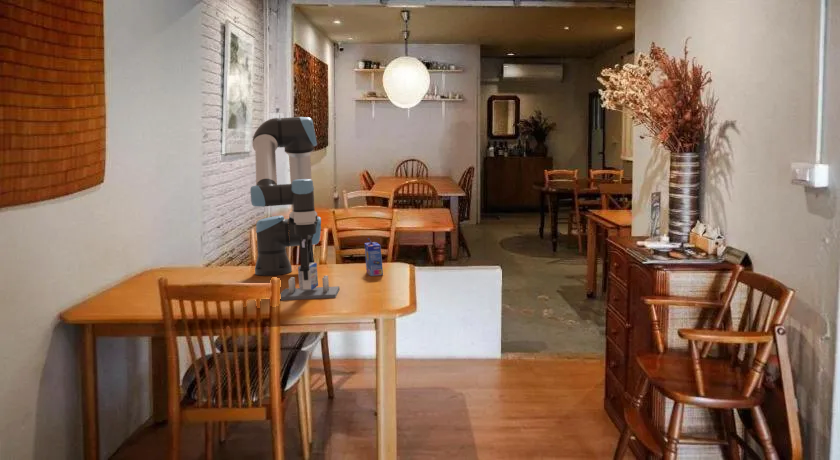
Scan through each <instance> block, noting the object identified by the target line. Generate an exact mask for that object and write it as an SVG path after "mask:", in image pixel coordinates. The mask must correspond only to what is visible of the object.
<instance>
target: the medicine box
mask: <svg viewBox="0 0 840 460" xmlns="http://www.w3.org/2000/svg"><path fill="white" fill-rule="evenodd" d="M304 267H306V266H304ZM299 269H301V265H299V266H297V274H298V287H299V288H300V290H313V289H314V288H315V287H319V280H318V276H319V275H318V263H317V262H314V263H309V270H310V280H311V289H303V281H302V271H300V270H299Z"/></svg>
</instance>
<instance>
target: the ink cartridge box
mask: <svg viewBox="0 0 840 460" xmlns="http://www.w3.org/2000/svg"><path fill="white" fill-rule="evenodd" d="M367 240H368V241H369V242H364V245H363V246H364V254H365V257H364V258H365V267H366V268H365V269H366V273H367V275H368V276H370V277H375V276H376V277H377V276H383V275H384V269H383V258H382V246H381V244H379V243H378V242H376V241H373V242H372V240H371V239H370V238H367Z"/></svg>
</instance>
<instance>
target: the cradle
mask: <svg viewBox="0 0 840 460" xmlns="http://www.w3.org/2000/svg"><path fill="white" fill-rule="evenodd" d="M295 280H296V277H293V276H291V277H290V278H288V281H287V282H288V288H284V289H283V290H282V291H281V292H280V294H281V300H280V301H289V300H290V301H292V300H295V301H297V300H315V299H316V300H317V299H336V298H337V296H338V294H339V291H340V286H329V285H330V283H329V282H330V281H329V275H323V277H322V279H321V280H322V286H320V287H319V286H317V287H315V288H314V289H313V290H300V288H298V287H296V281H295Z"/></svg>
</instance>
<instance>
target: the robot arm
mask: <svg viewBox="0 0 840 460" xmlns="http://www.w3.org/2000/svg"><path fill="white" fill-rule="evenodd" d="M316 146H318V142H317V137H316V131H315V127H314V121H313V119H312V118H311V117H309V116H307V117H306V116H305V117H304V116H293V117H292V116H291V117H278V118H277V117H275V118H270V119H267V120H265V121H264V122H263V123H262V124H260V125H259V127H257V128H256V130H255V132H254V134H253V137H252V148H253V150H254V151H255V153H254V154H255V185H252V186H250V191H249V192H250V202H251V205H252V206H253V207H275V206H290V205H291V206H292V207H291V210H292V211H291V212H290V213H289V214H288V218H285V216H284V215H275V216H274V215H273V216H269V217H265V218H261V219H259V220H257V221H256V223H255V228H256V229H255V233H256V241H257V242H256V244H257V245H256V247H257V259H256V262H255V266H254V274H255V275H257V276H263V277H264V276H265V277H267V276H279V275H284V274H289V273H291V272H292V271H293V269H292V268H293V267H292V264H291V262H290V259H289V256H288V255H287V247H288V248H289V247H299V255H300V266H301V269H299V270H300V271H302V281H303V289H311V280H310V270H309V263H315V258H314V257H315V256H314V250H313V249H314V247H313V245H317V244H319V243H320V240H321V233H322V232H321V231H322V217H320V216H318V212H317V211H316V209H315V193H314V192H315V191H314V190H315V188H314V182H313V179H312V165H311V164H312V162H311V154H312V153H313V152H314V149H315V147H316ZM278 148H284V152H285V153H286V154H287V155H288V162H289V163H288V164H289V178H290V183H285V184H278V181H277V179H278V176H277V159H276V158H277V157H276V151H277V149H278ZM304 266H306V267H304Z"/></svg>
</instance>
